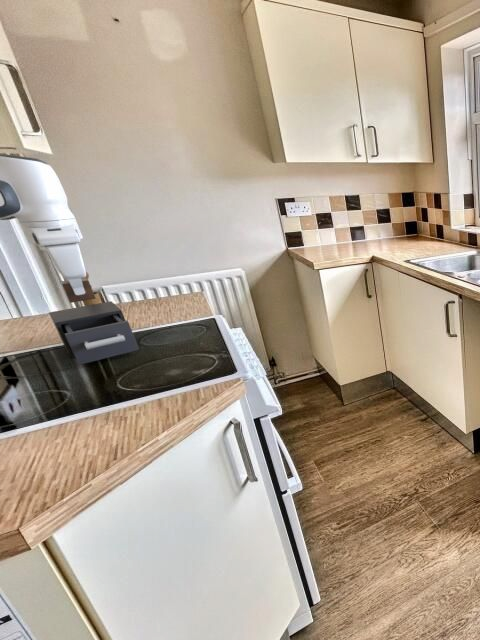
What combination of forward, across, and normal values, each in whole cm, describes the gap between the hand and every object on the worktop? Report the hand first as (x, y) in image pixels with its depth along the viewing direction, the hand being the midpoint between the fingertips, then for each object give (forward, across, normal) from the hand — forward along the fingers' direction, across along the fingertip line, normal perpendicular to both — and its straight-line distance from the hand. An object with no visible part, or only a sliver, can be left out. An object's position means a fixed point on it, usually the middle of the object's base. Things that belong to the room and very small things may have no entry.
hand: (78, 292), depth 100 cm
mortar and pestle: (+17, -28, +3) cm, 33 cm away
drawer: (+16, 0, +1) cm, 16 cm away
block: (+2, 0, 0) cm, 2 cm away
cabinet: (+17, -13, 0) cm, 21 cm away
